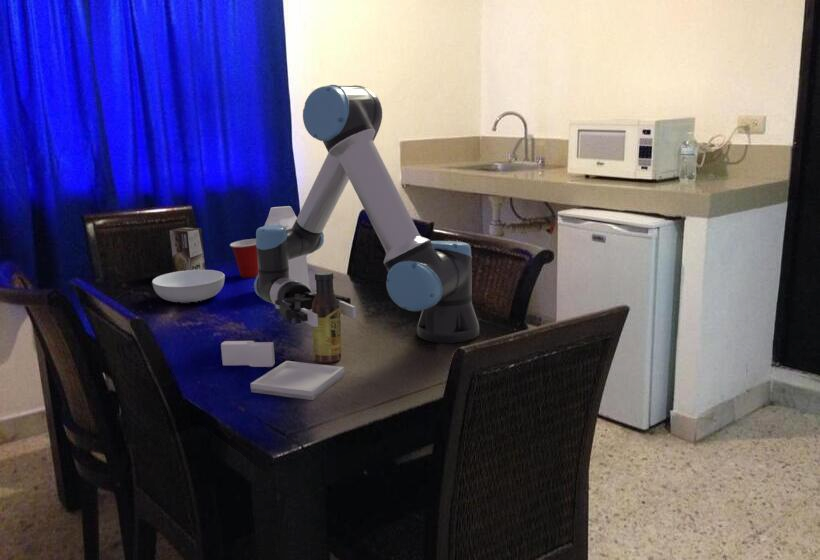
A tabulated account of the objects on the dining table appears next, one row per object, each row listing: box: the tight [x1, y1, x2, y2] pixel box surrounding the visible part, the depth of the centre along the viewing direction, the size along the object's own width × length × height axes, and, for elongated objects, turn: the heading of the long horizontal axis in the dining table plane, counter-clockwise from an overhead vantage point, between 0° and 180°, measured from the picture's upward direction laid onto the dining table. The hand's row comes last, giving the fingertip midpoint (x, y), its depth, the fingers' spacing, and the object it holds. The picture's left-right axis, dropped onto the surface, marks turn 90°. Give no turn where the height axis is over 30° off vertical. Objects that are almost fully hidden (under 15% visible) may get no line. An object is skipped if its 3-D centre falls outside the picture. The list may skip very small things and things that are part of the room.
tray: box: [250, 360, 346, 401], centre depth 152 cm, size 14×14×2 cm
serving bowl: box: [151, 269, 226, 304], centre depth 221 cm, size 21×21×7 cm
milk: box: [264, 205, 311, 290], centre depth 226 cm, size 12×12×26 cm
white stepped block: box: [220, 340, 276, 368], centre depth 164 cm, size 15×11×6 cm
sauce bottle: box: [311, 270, 343, 364], centre depth 164 cm, size 6×6×20 cm
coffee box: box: [169, 227, 206, 272], centre depth 252 cm, size 9×6×16 cm
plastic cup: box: [229, 238, 259, 279], centre depth 249 cm, size 11×11×12 cm
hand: (335, 316), depth 160 cm, fingers open, 9 cm apart
